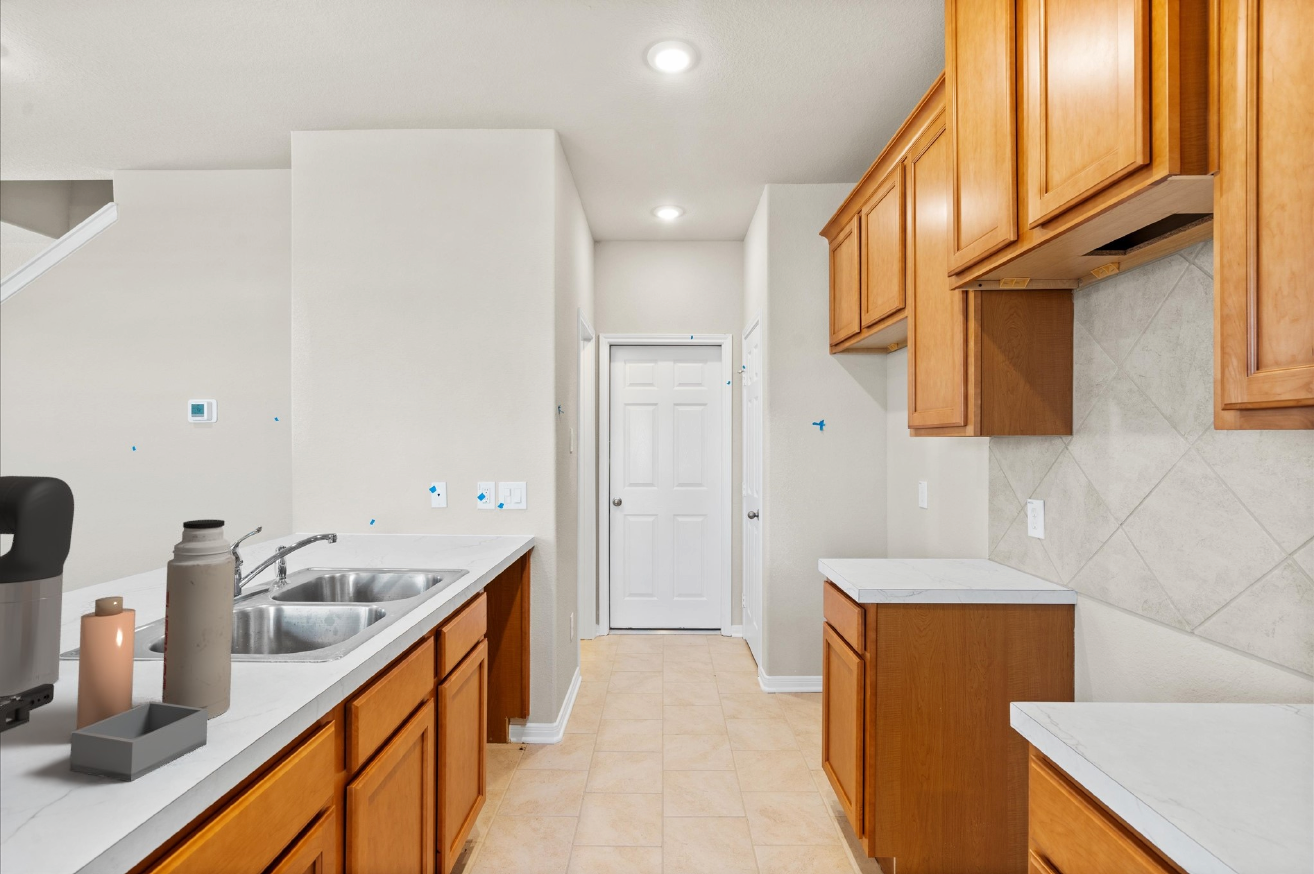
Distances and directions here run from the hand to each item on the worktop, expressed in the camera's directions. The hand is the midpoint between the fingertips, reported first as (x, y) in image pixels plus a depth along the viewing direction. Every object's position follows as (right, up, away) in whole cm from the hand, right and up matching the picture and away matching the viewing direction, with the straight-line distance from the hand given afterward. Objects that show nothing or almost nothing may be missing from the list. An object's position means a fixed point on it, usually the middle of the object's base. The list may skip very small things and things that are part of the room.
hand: (16, 690), depth 71 cm
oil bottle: (0, -10, +11) cm, 15 cm away
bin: (+10, -10, +5) cm, 16 cm away
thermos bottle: (+8, -11, +18) cm, 22 cm away
